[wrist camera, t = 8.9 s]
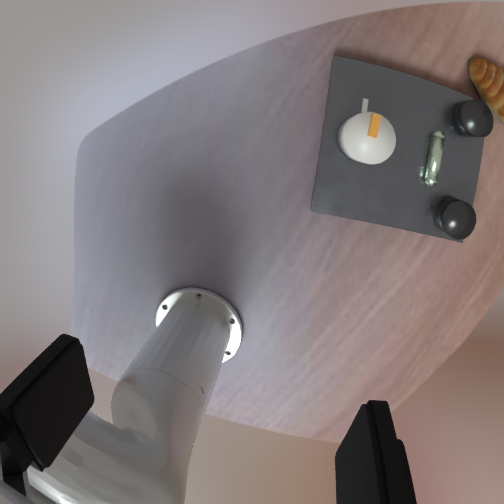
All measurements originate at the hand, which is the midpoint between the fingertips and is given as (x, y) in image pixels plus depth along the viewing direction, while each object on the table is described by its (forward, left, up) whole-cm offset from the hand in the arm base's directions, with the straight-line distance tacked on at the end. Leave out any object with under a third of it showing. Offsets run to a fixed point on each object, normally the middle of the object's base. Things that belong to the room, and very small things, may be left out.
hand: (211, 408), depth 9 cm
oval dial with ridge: (+10, -8, -28) cm, 31 cm away
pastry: (+22, -26, -31) cm, 46 cm away
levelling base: (+10, -14, -30) cm, 35 cm away
